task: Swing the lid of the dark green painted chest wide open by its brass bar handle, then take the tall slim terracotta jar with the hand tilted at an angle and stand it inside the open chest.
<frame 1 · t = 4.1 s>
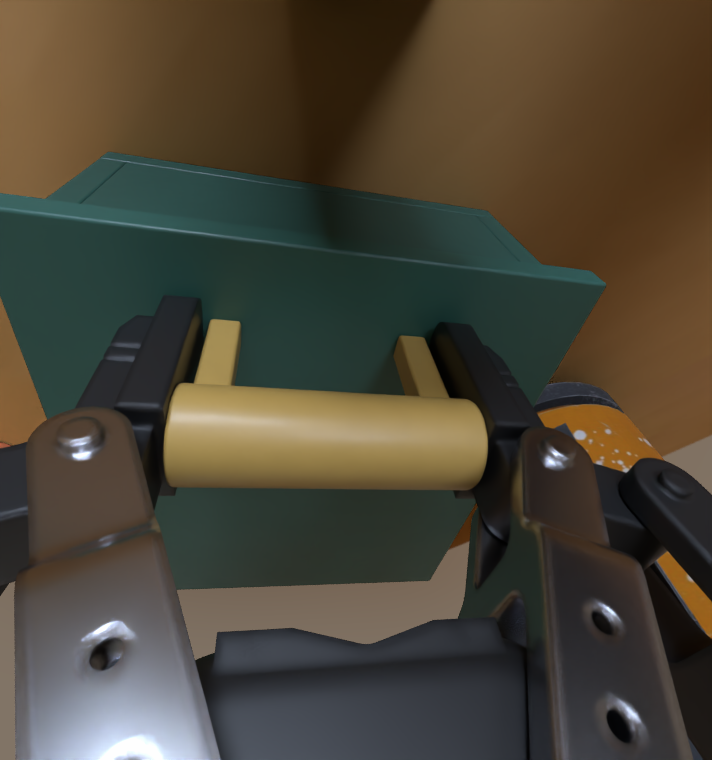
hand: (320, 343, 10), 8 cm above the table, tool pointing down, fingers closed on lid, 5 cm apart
canister: (527, 419, 25), on the table
chest: (296, 348, 20), on the table
lid: (300, 523, 13), point 9 cm above the table, hinge at 0.0°, touching gripper
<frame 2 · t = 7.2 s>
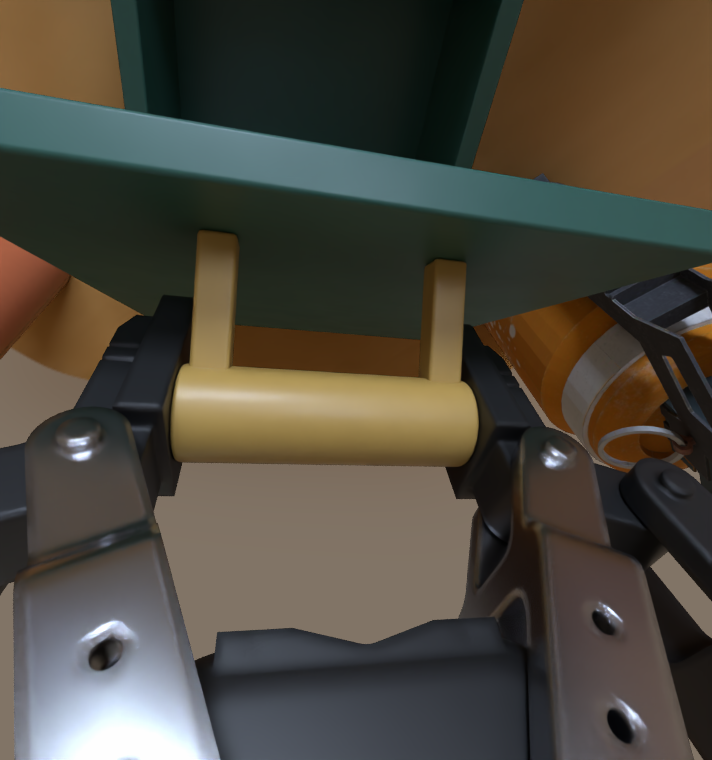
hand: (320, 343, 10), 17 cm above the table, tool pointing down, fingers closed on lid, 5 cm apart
jar: (30, 260, 25), on the table
canister: (513, 237, 28), on the table
chest: (304, 130, 22), on the table
lid: (307, 354, 14), point 15 cm above the table, hinge at 51.1°, touching gripper
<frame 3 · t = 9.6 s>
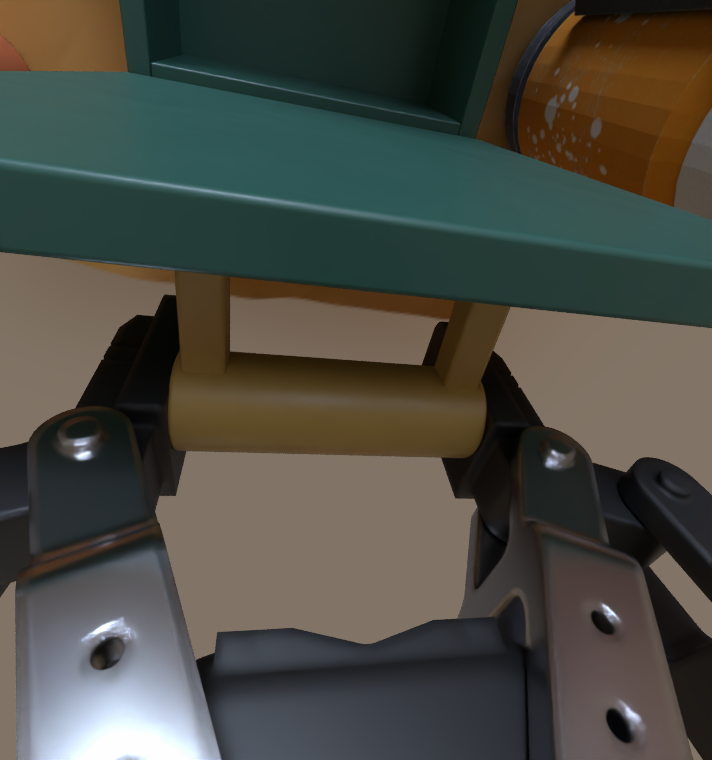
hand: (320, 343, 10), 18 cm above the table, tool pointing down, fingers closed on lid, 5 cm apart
canister: (573, 76, 23), on the table
lid: (322, 235, 12), point 15 cm above the table, hinge at 86.3°, touching gripper
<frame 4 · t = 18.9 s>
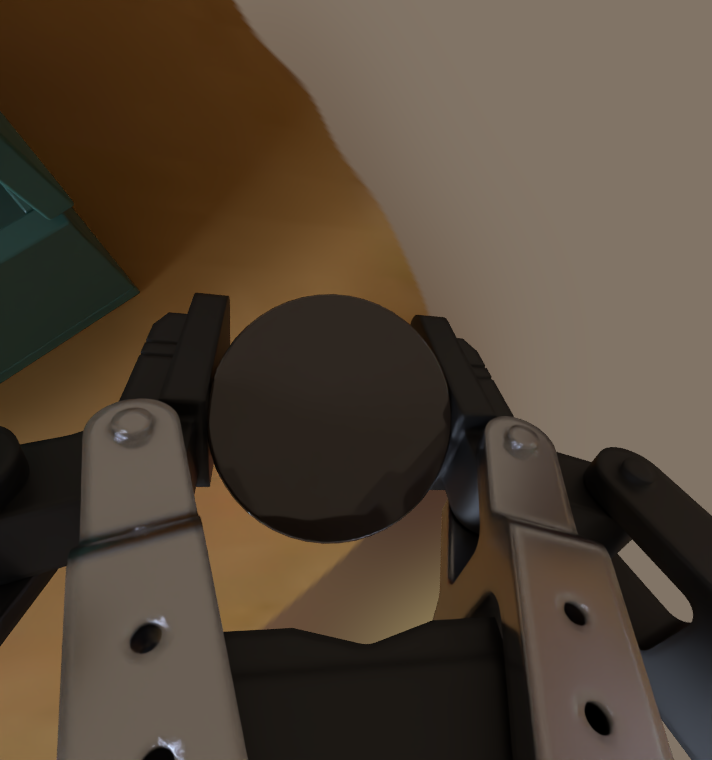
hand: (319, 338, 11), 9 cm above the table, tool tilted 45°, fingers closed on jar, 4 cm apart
jar: (291, 417, 19), on the table, touching gripper
when the fingers open (10 cm above the table, at t = 29.3 s): jar stays where it is, resting on chest.
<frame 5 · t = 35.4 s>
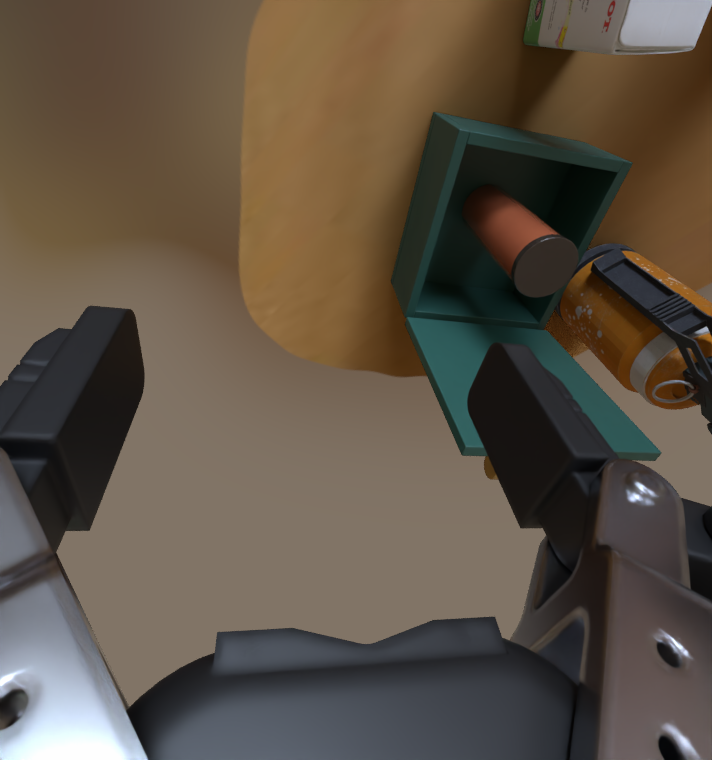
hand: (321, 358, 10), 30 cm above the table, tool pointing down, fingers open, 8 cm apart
jar: (484, 209, 38), point 1 cm above the table, touching chest
canister: (588, 273, 45), on the table
chest: (479, 217, 39), on the table
lid: (503, 400, 33), point 15 cm above the table, hinge at 87.0°
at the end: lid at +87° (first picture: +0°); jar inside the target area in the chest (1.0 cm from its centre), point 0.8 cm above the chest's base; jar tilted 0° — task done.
